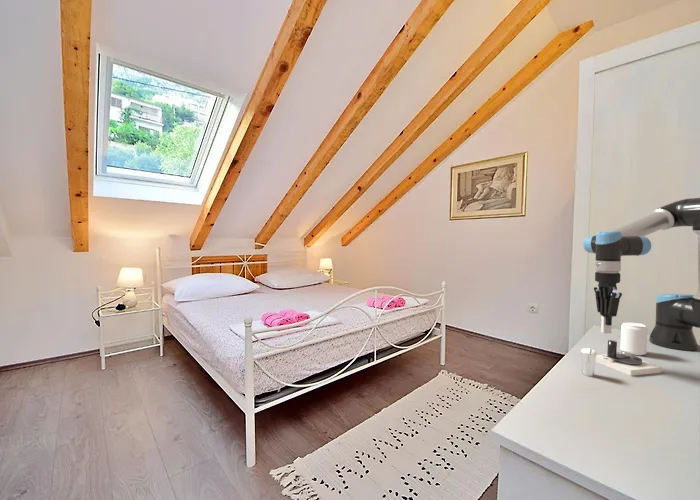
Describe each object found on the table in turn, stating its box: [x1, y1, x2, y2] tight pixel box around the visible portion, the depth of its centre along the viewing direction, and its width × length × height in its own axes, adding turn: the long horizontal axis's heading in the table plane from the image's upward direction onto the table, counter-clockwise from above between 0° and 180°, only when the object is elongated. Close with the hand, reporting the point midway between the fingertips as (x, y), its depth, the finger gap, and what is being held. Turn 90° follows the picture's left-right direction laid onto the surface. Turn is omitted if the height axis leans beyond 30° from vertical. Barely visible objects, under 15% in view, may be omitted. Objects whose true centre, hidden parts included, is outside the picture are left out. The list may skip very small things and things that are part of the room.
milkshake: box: [580, 347, 598, 377], centre depth 110 cm, size 4×5×10 cm
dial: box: [606, 339, 643, 365], centre depth 118 cm, size 11×9×7 cm
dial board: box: [596, 353, 663, 377], centre depth 118 cm, size 14×14×2 cm
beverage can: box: [619, 321, 648, 356], centre depth 132 cm, size 8×8×12 cm
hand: (606, 332), depth 122 cm, fingers closed
